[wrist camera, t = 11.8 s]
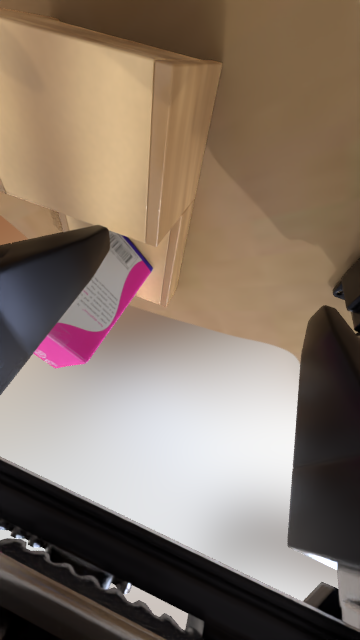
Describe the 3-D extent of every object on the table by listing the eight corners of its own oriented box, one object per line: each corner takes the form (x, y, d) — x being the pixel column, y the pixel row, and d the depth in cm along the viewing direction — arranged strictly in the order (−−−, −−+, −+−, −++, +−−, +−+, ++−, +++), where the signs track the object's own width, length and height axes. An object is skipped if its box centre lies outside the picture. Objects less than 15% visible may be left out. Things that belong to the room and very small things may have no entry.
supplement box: (82, 246, 24) (-13, 325, 17) (114, 218, 20) (10, 304, 13) (120, 287, 27) (53, 371, 19) (155, 269, 23) (88, 365, 16)
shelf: (222, 62, 14) (173, 64, 9) (176, 288, 29) (147, 340, 23) (48, 16, 15) (-91, -8, 10) (90, 256, 30) (44, 299, 24)
